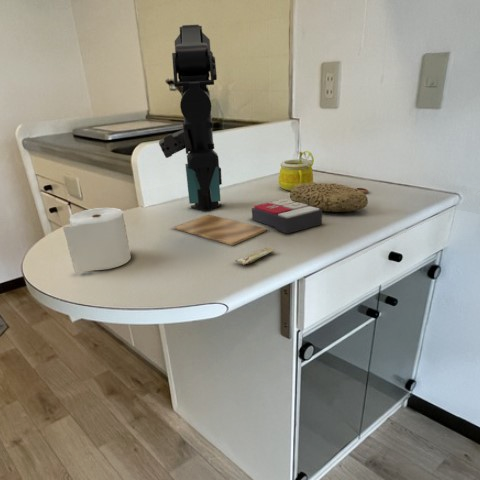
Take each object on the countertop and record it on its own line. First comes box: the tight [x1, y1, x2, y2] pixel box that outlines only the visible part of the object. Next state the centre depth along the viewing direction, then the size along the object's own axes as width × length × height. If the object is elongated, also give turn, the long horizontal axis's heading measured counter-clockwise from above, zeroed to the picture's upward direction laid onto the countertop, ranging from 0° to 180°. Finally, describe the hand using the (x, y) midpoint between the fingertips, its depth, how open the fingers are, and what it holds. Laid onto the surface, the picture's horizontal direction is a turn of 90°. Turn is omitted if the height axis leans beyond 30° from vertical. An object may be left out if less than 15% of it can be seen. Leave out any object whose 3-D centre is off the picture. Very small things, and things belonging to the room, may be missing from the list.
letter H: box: [184, 163, 221, 204], centre depth 98 cm, size 3×7×8 cm, turn 97°
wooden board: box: [174, 214, 267, 246], centre depth 108 cm, size 20×12×1 cm, turn 48°
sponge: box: [289, 181, 369, 213], centre depth 117 cm, size 13×8×20 cm
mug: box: [278, 150, 314, 192], centre depth 136 cm, size 13×11×12 cm
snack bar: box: [234, 247, 276, 266], centre depth 91 cm, size 10×2×3 cm
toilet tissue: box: [62, 207, 132, 273], centre depth 91 cm, size 11×12×10 cm
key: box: [356, 187, 369, 194], centre depth 127 cm, size 6×1×15 cm
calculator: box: [251, 198, 323, 234], centre depth 110 cm, size 11×4×15 cm
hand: (204, 192), depth 99 cm, fingers closed on letter H, 3 cm apart
